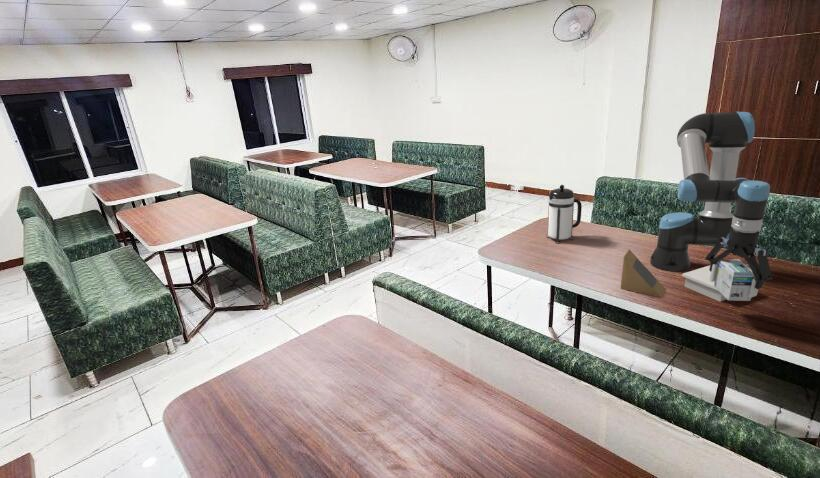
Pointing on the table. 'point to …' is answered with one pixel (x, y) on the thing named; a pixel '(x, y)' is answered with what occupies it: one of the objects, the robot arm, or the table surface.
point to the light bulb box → (734, 279)
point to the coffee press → (562, 213)
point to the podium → (702, 283)
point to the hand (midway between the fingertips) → (732, 288)
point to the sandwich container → (639, 277)
